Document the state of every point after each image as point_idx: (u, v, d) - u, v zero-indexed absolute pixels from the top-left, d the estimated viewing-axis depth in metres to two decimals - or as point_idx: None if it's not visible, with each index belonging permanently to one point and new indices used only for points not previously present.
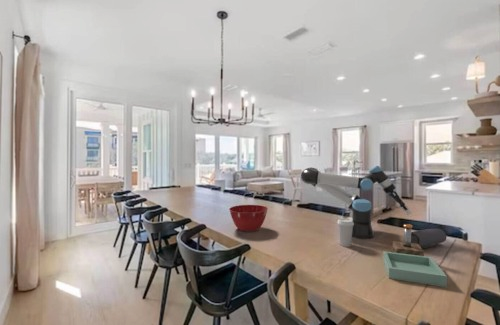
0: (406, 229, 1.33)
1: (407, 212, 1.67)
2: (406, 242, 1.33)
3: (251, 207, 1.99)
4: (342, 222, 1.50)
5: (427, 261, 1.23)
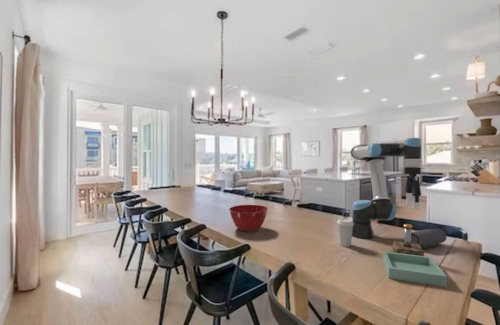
0: (406, 229, 1.33)
1: (415, 205, 1.29)
2: (406, 242, 1.33)
3: (251, 207, 1.99)
4: (342, 222, 1.50)
5: (427, 261, 1.23)
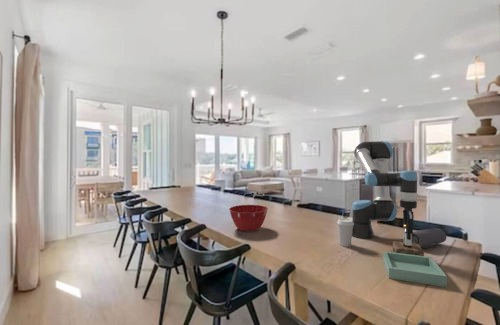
0: None
1: (407, 242, 1.32)
2: None
3: (251, 207, 1.99)
4: (342, 222, 1.50)
5: (427, 261, 1.23)
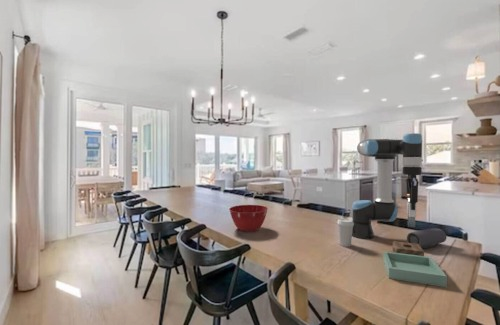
0: None
1: (411, 213, 1.18)
2: None
3: (251, 207, 1.99)
4: (342, 222, 1.50)
5: (427, 261, 1.23)
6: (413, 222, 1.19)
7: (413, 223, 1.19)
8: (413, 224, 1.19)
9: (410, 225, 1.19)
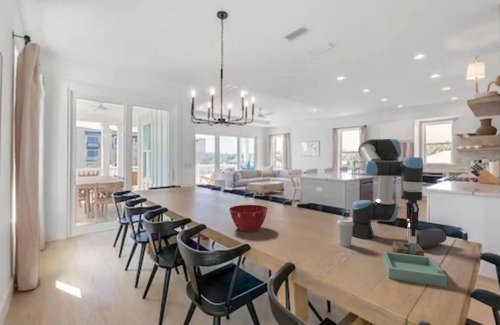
0: None
1: (411, 239, 1.15)
2: None
3: (251, 207, 1.99)
4: (342, 222, 1.50)
5: (427, 261, 1.23)
6: (413, 248, 1.15)
7: (413, 249, 1.15)
8: (413, 250, 1.16)
9: (410, 251, 1.16)
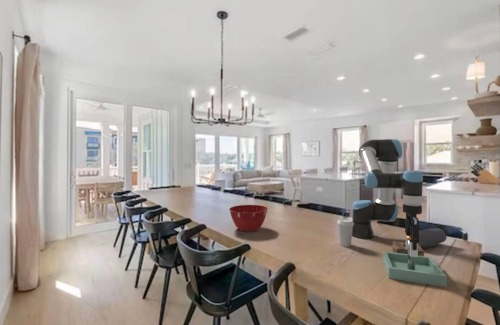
0: None
1: (412, 253, 1.12)
2: None
3: (251, 207, 1.99)
4: (342, 222, 1.50)
5: (427, 261, 1.23)
6: (413, 266, 1.16)
7: (413, 267, 1.16)
8: (413, 268, 1.16)
9: (410, 268, 1.16)
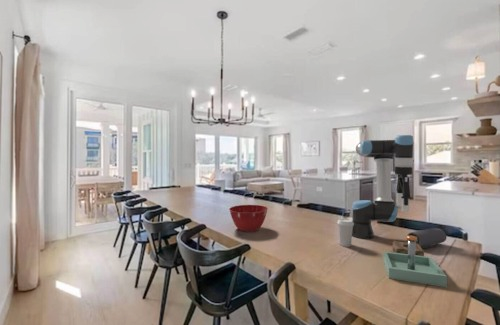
0: (410, 242, 1.16)
1: (404, 208, 1.20)
2: (410, 256, 1.16)
3: (251, 207, 1.99)
4: (342, 222, 1.50)
5: (427, 261, 1.23)
6: (413, 266, 1.16)
7: (413, 267, 1.16)
8: (413, 268, 1.16)
9: (410, 269, 1.16)
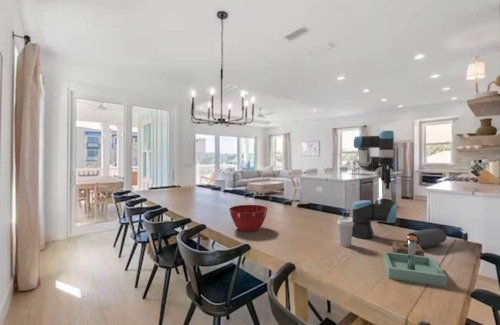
0: (410, 242, 1.16)
1: (386, 192, 1.43)
2: (410, 256, 1.16)
3: (251, 207, 1.99)
4: (342, 222, 1.50)
5: (427, 261, 1.23)
6: (413, 266, 1.16)
7: (413, 267, 1.16)
8: (413, 268, 1.16)
9: (410, 269, 1.16)
